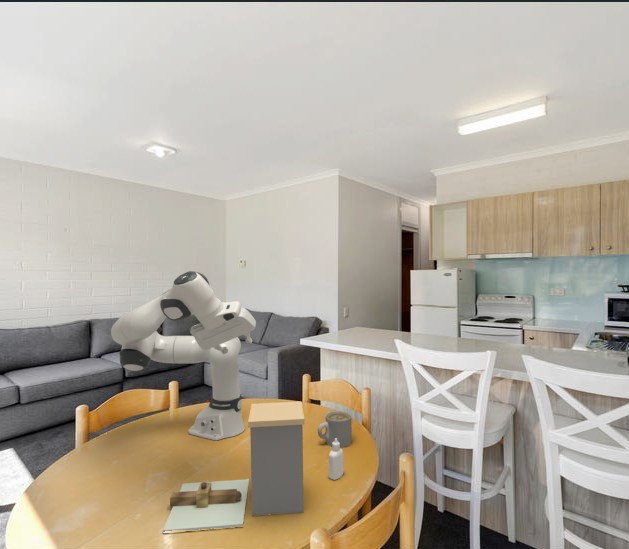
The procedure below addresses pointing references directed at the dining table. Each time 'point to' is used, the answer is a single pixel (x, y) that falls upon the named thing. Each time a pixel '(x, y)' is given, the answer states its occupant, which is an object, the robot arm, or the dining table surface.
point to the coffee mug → (337, 428)
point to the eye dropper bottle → (336, 461)
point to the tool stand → (276, 458)
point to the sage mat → (210, 509)
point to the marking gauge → (204, 497)
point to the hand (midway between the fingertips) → (238, 347)
